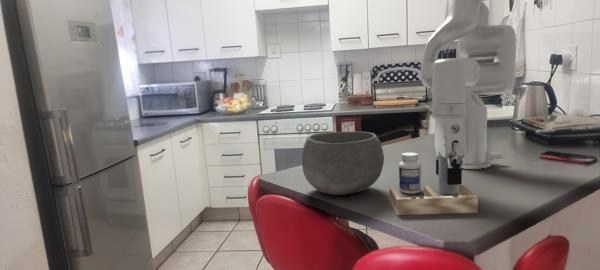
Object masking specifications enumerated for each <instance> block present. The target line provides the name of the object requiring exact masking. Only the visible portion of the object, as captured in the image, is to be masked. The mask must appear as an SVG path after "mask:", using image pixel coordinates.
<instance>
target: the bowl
mask: <svg viewBox="0 0 600 270" xmlns="http://www.w3.org/2000/svg"><path fill="white" fill-rule="evenodd" d="M301 156H302V157H301V161H302V162H301V165H302V173H303V175H304V177H305V179H306V181H307V182H308V184H309V185H311V186H312V187H313V188H314V189H315V190H316V191H319V192H320V193H323V194H328V195H333V196H342V195H352V194H355V193H358V192H362V191H364V190H366V189H369V188H370V187H371V186H373V185H374V184H375V183H376V182H377V181H378V179H379V178H380V176H381V174H382V171H383V168H384V167H383V166H384V164H385V163H384V161H385V154H384V150H383V146H382V143H381V140H380V139H379V138H378V136H377V135H376V134H375V133H374V132H367V131H334V132H333V131H332V132H318V133H314V134H311V135H308V136H307V138H306V139H305V143H304V144H303V149H302V154H301Z"/></svg>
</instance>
